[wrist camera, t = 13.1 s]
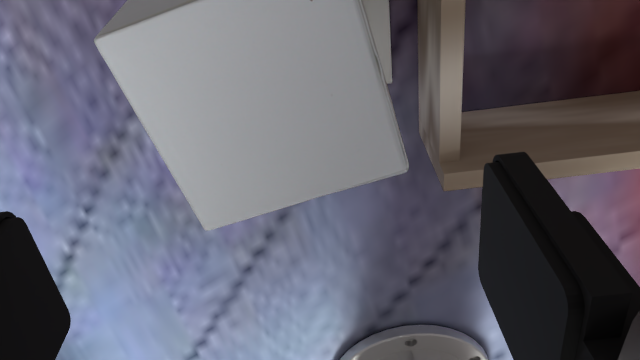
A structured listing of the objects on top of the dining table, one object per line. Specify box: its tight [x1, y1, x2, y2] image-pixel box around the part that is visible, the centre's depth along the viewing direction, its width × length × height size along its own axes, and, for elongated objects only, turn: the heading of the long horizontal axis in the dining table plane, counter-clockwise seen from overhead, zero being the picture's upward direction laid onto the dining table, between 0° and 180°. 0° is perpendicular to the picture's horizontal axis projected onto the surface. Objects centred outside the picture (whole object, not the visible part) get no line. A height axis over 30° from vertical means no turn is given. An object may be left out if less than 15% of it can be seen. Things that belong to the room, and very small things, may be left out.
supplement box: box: [94, 0, 409, 231], centre depth 21 cm, size 7×7×13 cm
